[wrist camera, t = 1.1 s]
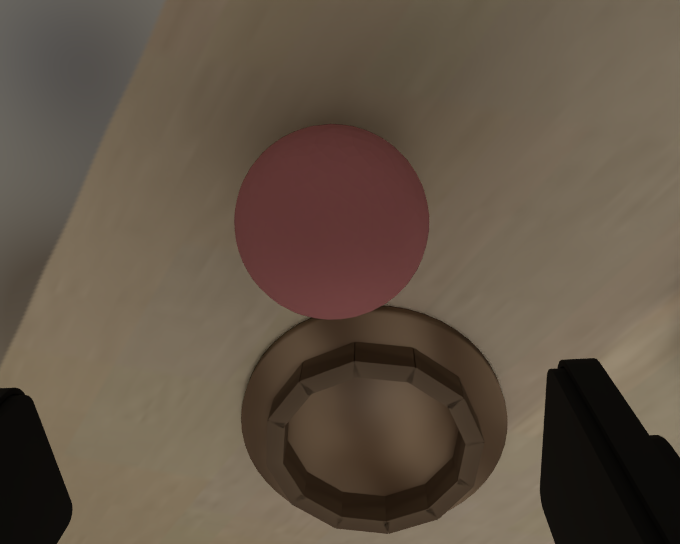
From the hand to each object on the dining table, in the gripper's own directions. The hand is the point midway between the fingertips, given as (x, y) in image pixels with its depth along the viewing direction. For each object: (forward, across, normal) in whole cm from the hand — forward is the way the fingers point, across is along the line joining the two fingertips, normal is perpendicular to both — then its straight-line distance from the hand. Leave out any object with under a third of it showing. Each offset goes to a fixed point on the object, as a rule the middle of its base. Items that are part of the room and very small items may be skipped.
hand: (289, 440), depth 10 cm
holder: (+20, 0, +16) cm, 25 cm away
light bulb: (+20, 0, 0) cm, 20 cm away
